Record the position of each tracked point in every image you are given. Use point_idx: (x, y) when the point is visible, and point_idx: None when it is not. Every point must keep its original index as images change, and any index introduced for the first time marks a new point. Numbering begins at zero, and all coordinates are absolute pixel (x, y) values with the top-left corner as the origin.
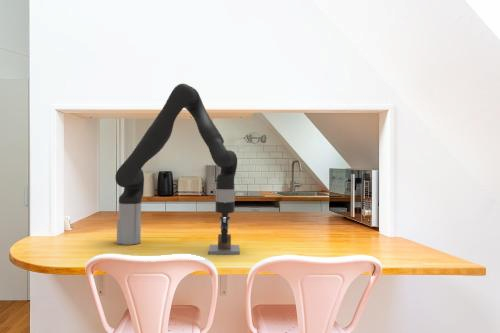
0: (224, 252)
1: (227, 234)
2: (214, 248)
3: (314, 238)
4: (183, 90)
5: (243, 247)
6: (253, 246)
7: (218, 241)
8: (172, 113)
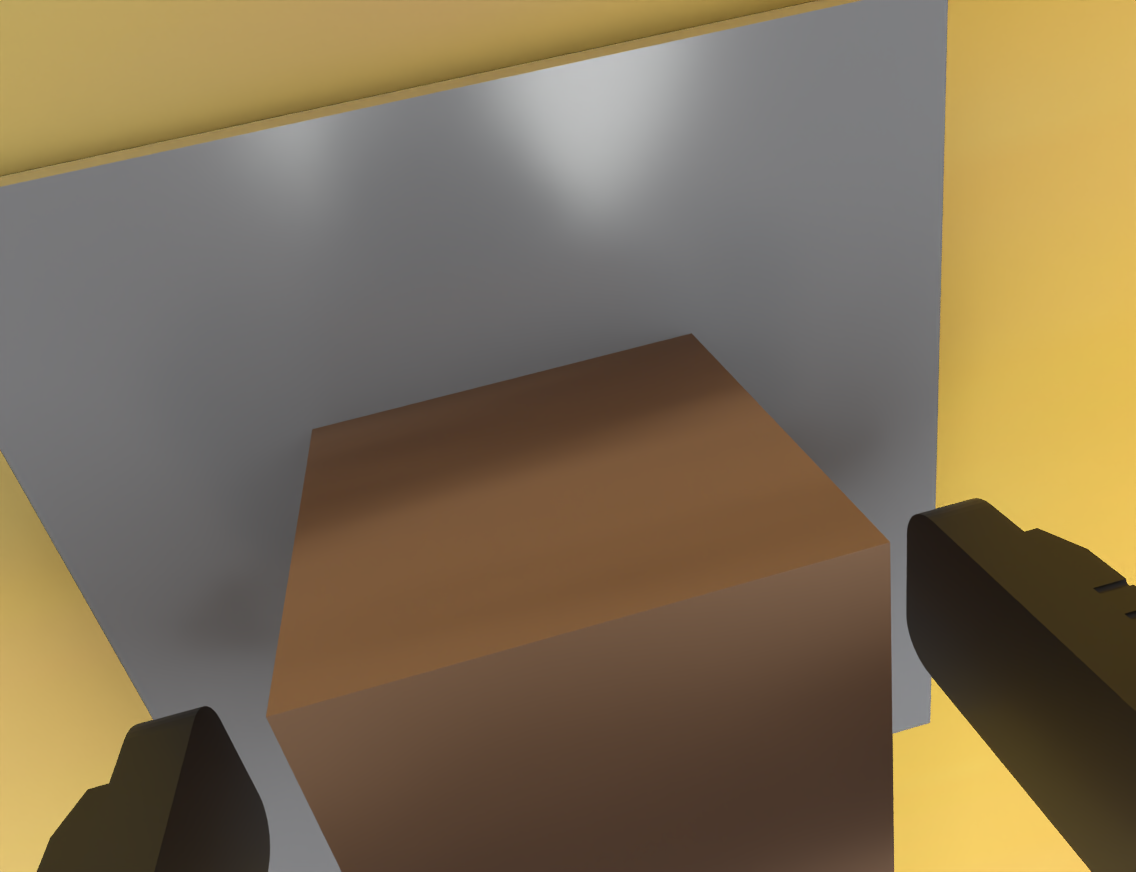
0: (125, 639)
1: (833, 856)
2: (383, 301)
3: None
4: None
5: (956, 717)
6: (1032, 825)
7: (300, 580)
8: None
